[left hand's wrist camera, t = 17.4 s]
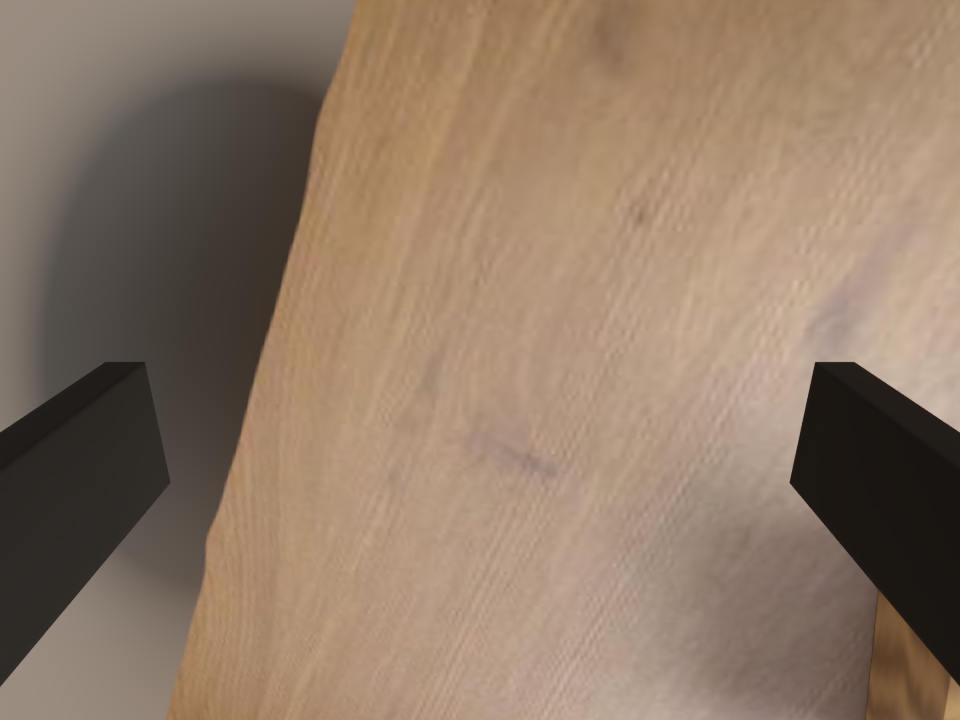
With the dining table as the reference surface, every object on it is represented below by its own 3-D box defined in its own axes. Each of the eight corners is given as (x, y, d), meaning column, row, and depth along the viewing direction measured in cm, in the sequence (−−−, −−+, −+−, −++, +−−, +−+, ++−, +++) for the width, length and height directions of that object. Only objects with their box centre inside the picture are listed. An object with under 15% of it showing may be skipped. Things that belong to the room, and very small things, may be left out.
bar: (884, 531, 49) (960, 611, 41) (953, 523, 48) (1043, 601, 41) (864, 729, 57) (925, 827, 49) (923, 723, 56) (994, 821, 49)
